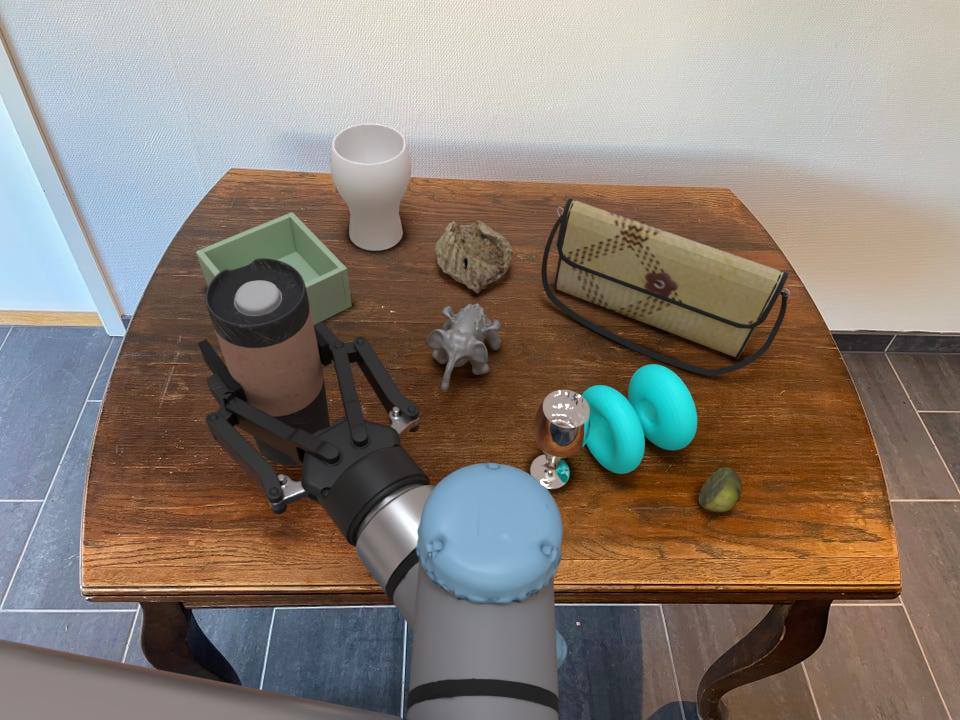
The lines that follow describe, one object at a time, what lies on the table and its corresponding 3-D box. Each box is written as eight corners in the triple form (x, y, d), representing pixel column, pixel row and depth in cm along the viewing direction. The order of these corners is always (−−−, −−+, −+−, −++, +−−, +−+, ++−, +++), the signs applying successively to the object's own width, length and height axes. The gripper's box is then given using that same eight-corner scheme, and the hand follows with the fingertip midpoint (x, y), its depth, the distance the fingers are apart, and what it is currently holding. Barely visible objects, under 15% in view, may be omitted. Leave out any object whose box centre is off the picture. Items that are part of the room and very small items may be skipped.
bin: (257, 353, 85) (246, 315, 80) (208, 290, 92) (195, 251, 86) (351, 306, 91) (347, 268, 86) (299, 250, 97) (292, 211, 92)
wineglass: (560, 442, 79) (577, 378, 70) (585, 483, 76) (606, 421, 67) (515, 459, 77) (526, 395, 68) (539, 502, 74) (554, 440, 65)
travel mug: (316, 477, 65) (282, 337, 50) (240, 458, 66) (184, 314, 51) (344, 413, 70) (321, 267, 55) (274, 396, 71) (232, 248, 56)
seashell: (463, 314, 95) (528, 281, 94) (444, 288, 89) (514, 253, 88) (439, 255, 101) (500, 224, 100) (420, 227, 95) (485, 193, 94)
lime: (700, 521, 74) (715, 499, 70) (687, 481, 77) (700, 458, 73) (739, 518, 74) (756, 496, 70) (725, 479, 77) (740, 455, 74)
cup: (336, 257, 97) (323, 166, 85) (342, 209, 104) (331, 119, 92) (412, 258, 98) (409, 168, 86) (413, 211, 104) (411, 121, 93)
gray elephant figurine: (499, 333, 90) (504, 291, 84) (503, 408, 82) (509, 368, 76) (427, 331, 89) (427, 289, 83) (425, 407, 81) (424, 366, 75)
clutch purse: (527, 309, 93) (541, 220, 81) (547, 277, 97) (563, 189, 85) (746, 395, 85) (796, 311, 74) (758, 357, 89) (806, 272, 78)
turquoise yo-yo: (687, 460, 79) (714, 409, 71) (614, 494, 75) (635, 444, 68) (636, 396, 84) (657, 343, 76) (566, 425, 81) (581, 372, 73)
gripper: (279, 618, 50) (150, 410, 60) (495, 470, 59) (349, 311, 69) (260, 577, 44) (121, 355, 55) (502, 420, 53) (342, 255, 63)
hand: (249, 331), depth 62 cm, fingers closed on travel mug, 7 cm apart
